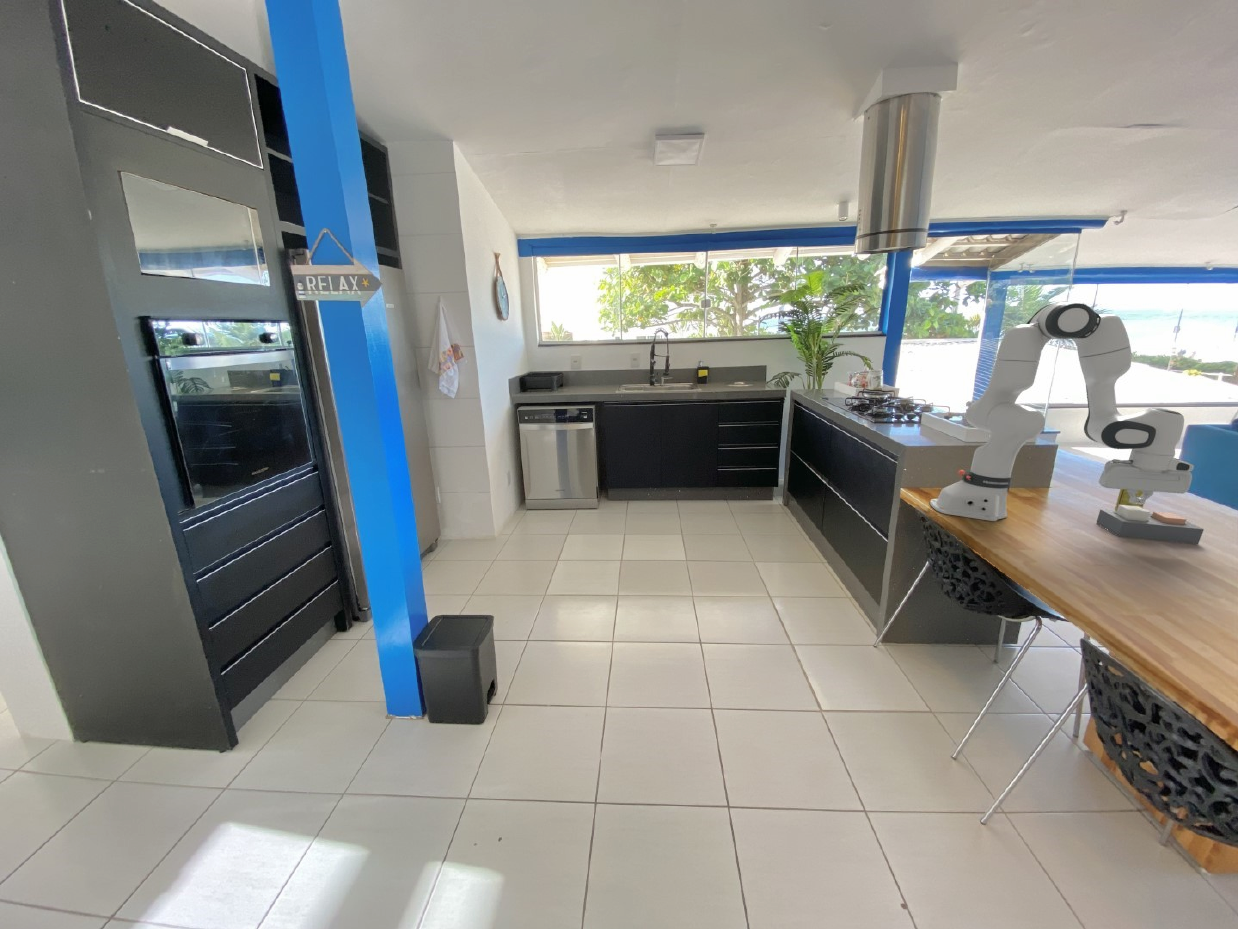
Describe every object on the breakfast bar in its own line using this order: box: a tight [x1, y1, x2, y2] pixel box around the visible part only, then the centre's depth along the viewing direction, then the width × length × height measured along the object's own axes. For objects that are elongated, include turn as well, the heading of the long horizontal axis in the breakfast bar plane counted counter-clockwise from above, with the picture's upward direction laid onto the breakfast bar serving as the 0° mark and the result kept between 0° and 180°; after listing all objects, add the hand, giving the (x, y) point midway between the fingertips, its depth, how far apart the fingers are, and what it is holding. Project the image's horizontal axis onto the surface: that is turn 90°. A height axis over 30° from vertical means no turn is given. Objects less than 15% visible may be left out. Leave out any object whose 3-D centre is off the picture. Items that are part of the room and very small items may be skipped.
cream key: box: [1116, 505, 1151, 521], centre depth 148 cm, size 5×5×4 cm
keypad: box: [1096, 508, 1205, 545], centre depth 147 cm, size 19×11×5 cm, turn 72°
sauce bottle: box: [1114, 489, 1145, 511], centre depth 159 cm, size 6×6×20 cm
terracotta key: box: [1151, 511, 1187, 525], centre depth 145 cm, size 5×5×4 cm
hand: (1136, 503), depth 147 cm, fingers closed
